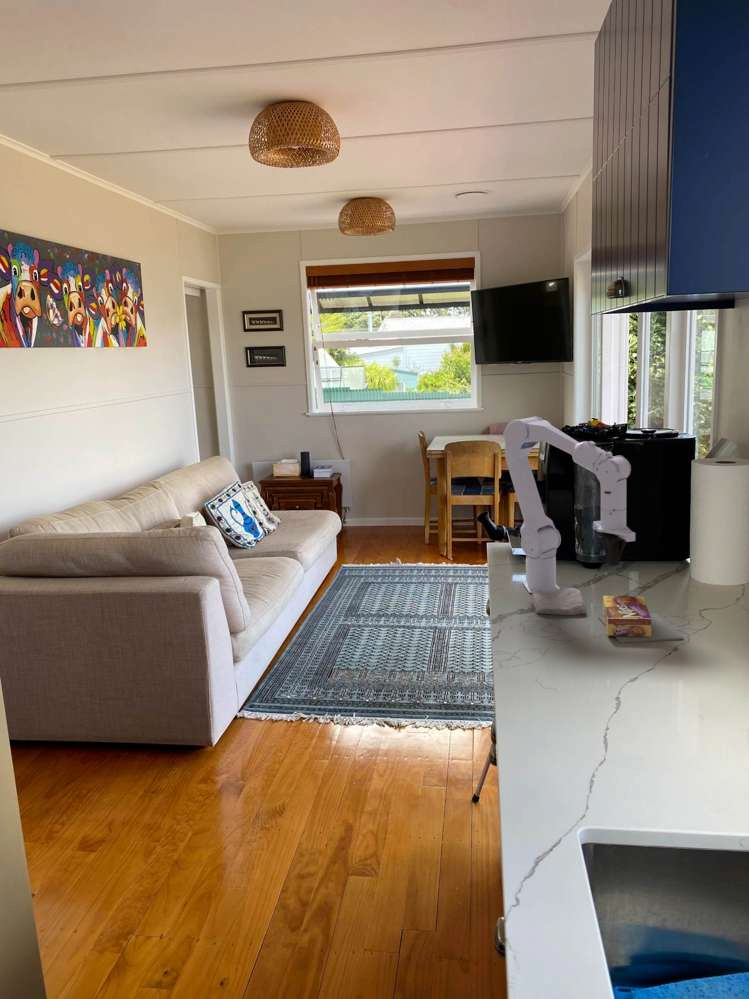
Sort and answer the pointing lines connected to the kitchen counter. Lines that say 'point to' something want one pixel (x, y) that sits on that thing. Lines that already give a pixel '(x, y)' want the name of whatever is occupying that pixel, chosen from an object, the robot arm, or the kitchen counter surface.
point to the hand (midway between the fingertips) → (613, 564)
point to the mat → (652, 631)
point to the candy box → (626, 616)
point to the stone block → (558, 602)
